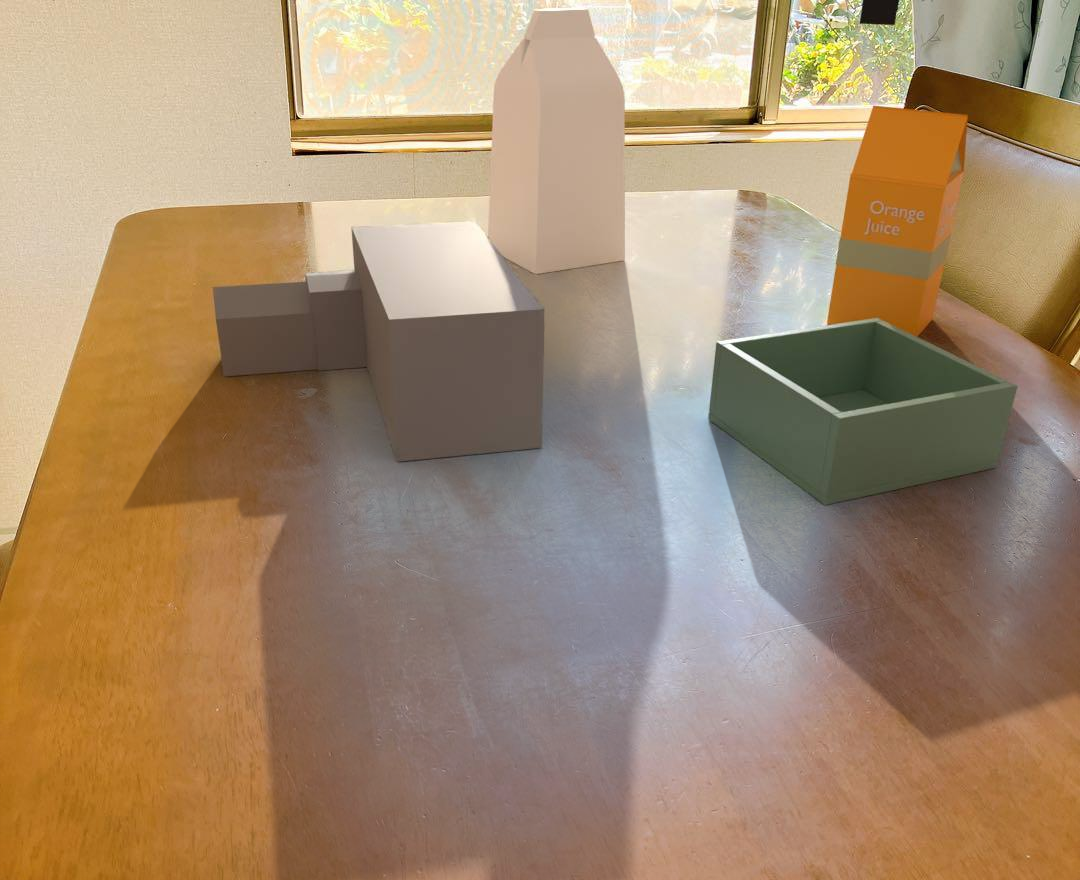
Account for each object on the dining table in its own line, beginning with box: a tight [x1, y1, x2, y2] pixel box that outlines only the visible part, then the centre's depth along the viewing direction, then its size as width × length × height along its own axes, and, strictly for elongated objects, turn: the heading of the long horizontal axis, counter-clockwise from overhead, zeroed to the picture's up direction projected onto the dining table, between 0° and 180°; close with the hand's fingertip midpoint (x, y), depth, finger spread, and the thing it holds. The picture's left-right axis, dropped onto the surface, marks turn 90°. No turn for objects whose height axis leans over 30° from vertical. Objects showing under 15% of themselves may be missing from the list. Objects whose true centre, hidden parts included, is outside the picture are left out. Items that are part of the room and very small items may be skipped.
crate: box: [707, 318, 1018, 506], centre depth 82 cm, size 16×16×7 cm
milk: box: [487, 7, 626, 275], centre depth 120 cm, size 12×12×26 cm
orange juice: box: [826, 105, 969, 338], centre depth 103 cm, size 8×9×20 cm
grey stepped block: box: [212, 220, 546, 463], centre depth 87 cm, size 25×23×11 cm
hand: (879, 17), depth 92 cm, fingers open, 13 cm apart
